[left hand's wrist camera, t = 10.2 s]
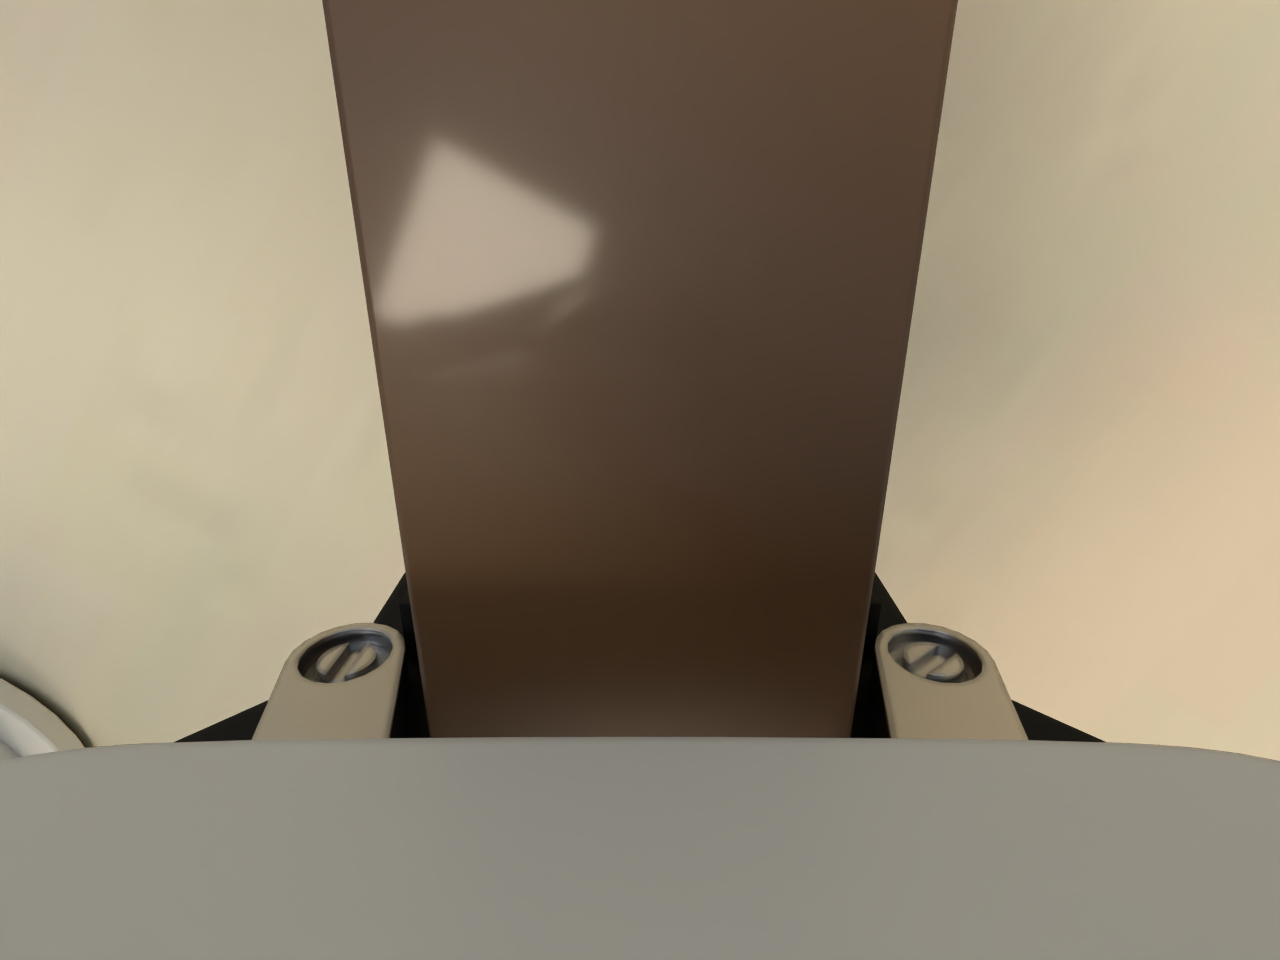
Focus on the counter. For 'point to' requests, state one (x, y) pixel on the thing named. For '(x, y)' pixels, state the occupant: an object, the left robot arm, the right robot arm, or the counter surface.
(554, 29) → the beam
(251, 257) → the counter surface
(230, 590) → the counter surface
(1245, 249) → the counter surface
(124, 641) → the counter surface
